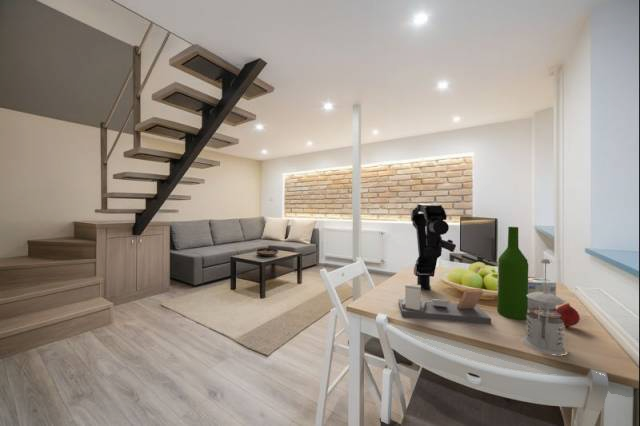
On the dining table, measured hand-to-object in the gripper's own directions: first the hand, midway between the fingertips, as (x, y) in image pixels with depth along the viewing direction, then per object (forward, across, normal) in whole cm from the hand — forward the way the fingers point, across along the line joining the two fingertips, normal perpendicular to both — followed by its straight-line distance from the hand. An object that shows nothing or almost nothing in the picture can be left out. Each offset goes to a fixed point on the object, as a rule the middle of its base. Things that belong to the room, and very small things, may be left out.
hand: (433, 270), depth 106 cm
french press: (+15, -25, -29) cm, 41 cm away
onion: (+14, -5, -41) cm, 43 cm away
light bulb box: (+13, +12, -37) cm, 41 cm away
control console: (+14, -13, -3) cm, 19 cm away
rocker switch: (+12, -13, -3) cm, 17 cm away
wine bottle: (+14, -2, -26) cm, 30 cm away
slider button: (+12, -18, +6) cm, 23 cm away
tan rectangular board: (+12, -9, -11) cm, 18 cm away
